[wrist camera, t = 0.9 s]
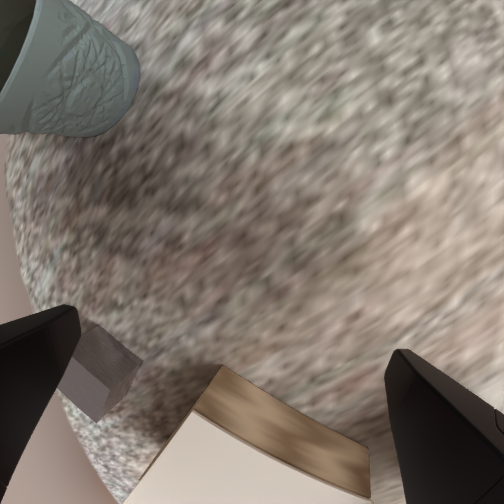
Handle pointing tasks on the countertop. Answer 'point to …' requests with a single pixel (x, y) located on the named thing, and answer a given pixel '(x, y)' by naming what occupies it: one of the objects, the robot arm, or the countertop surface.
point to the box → (282, 433)
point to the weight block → (99, 373)
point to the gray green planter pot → (61, 70)
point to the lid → (228, 473)
